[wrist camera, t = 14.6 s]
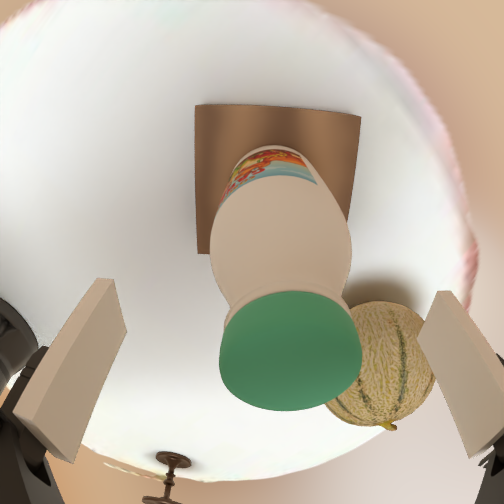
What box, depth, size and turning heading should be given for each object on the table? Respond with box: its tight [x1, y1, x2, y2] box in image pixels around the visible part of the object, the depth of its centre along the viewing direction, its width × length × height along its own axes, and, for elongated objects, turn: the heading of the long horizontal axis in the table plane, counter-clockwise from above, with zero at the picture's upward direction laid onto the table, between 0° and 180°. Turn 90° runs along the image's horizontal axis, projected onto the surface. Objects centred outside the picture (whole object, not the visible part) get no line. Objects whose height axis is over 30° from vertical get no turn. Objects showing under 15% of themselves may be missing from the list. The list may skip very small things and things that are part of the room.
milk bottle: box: [210, 145, 362, 411], centre depth 18 cm, size 8×8×20 cm
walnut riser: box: [195, 105, 361, 254], centre depth 28 cm, size 14×14×3 cm
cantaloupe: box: [324, 301, 436, 431], centre depth 31 cm, size 15×15×15 cm
